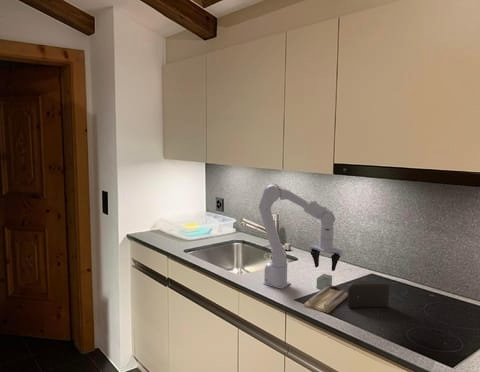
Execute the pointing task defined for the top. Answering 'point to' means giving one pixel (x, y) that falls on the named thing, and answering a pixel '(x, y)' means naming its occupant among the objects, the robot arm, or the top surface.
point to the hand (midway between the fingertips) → (325, 268)
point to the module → (324, 281)
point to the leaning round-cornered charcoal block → (368, 294)
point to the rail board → (326, 299)
